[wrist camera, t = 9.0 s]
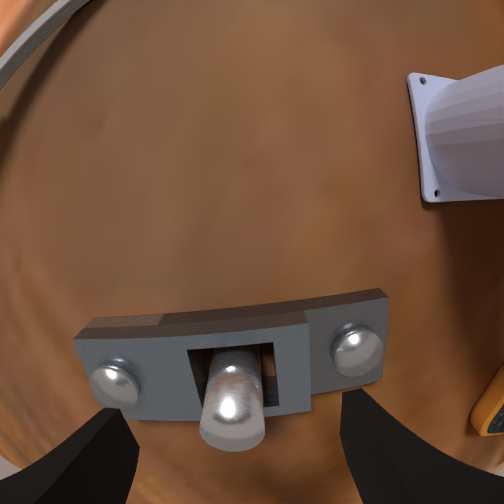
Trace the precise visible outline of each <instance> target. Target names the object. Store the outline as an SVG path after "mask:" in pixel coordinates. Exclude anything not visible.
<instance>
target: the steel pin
mask: <svg viewBox="0 0 504 504" xmlns="http://www.w3.org/2000/svg"><path fill="white" fill-rule="evenodd" d="M199 432H200V435H201V437H202V438H203V440H204V441H205V442H206V443H208V444H209V445H211V446H212V447H215V448H217V449H220V450H224V451H231V452H237V451H245V450H248V449H251V448H253V447H255V446H257V445H258V444H259V443H260V442H261V441H262V440H263V438H264V435H265V425H264V409H263V393H262V377H261V362H260V348H259V344H249V345H239V346H229V347H217V348H214V351H213V357H212V362H211V367H210V372H209V378H208V383H207V388H206V394H205V399H204V405H203V410H202V416H201V421H200V427H199Z"/></svg>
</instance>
